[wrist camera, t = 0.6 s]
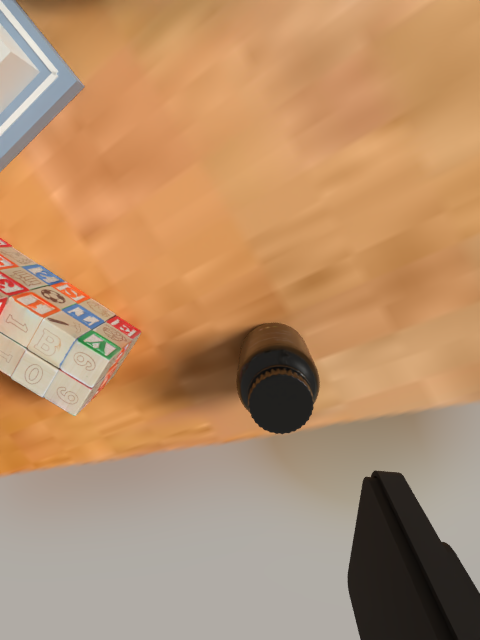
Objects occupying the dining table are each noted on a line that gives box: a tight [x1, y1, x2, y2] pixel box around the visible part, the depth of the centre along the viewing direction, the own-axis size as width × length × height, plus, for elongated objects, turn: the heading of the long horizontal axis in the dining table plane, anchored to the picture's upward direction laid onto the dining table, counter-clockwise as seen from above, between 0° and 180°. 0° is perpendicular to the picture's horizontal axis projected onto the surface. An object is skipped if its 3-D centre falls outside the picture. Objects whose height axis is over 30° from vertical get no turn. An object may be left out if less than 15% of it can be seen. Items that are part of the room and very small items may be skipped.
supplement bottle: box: [237, 323, 320, 434], centre depth 34 cm, size 7×7×12 cm
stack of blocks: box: [0, 238, 141, 416], centre depth 33 cm, size 21×6×12 cm, turn 56°
